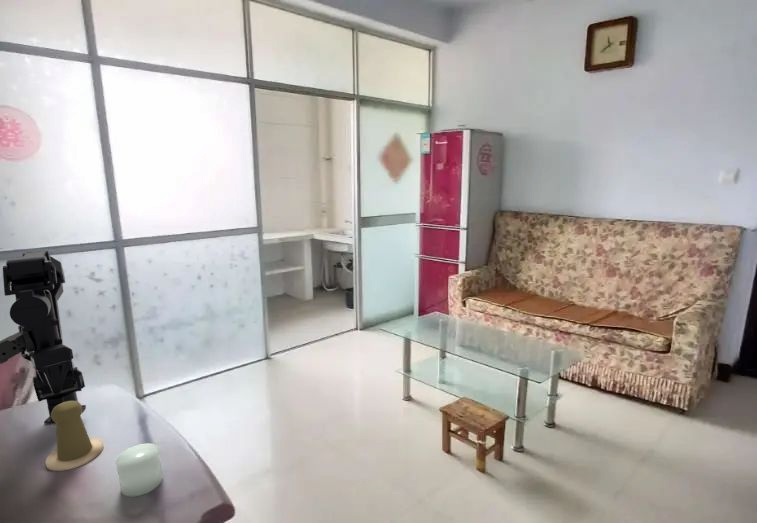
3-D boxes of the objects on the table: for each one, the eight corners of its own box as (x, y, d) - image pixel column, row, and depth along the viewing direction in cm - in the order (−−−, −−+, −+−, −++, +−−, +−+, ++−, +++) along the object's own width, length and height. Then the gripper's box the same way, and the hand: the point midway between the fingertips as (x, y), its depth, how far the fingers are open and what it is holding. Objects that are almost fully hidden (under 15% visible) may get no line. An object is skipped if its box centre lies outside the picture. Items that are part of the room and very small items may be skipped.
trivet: (62, 443, 95) (61, 440, 95) (111, 437, 96) (111, 434, 96) (35, 474, 85) (34, 471, 85) (90, 467, 87) (90, 464, 87)
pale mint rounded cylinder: (129, 473, 85) (124, 446, 83) (167, 468, 86) (163, 441, 85) (114, 499, 78) (109, 470, 77) (156, 493, 79) (151, 464, 78)
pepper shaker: (71, 464, 87) (60, 414, 85) (50, 458, 89) (39, 409, 87) (99, 445, 93) (90, 398, 90) (78, 440, 95) (69, 394, 92)
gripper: (-20, 321, 91) (-5, 392, 93) (-7, 334, 78) (10, 416, 80) (46, 309, 99) (58, 374, 101) (67, 318, 86) (80, 393, 88)
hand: (51, 388), depth 92 cm, fingers open, 9 cm apart
